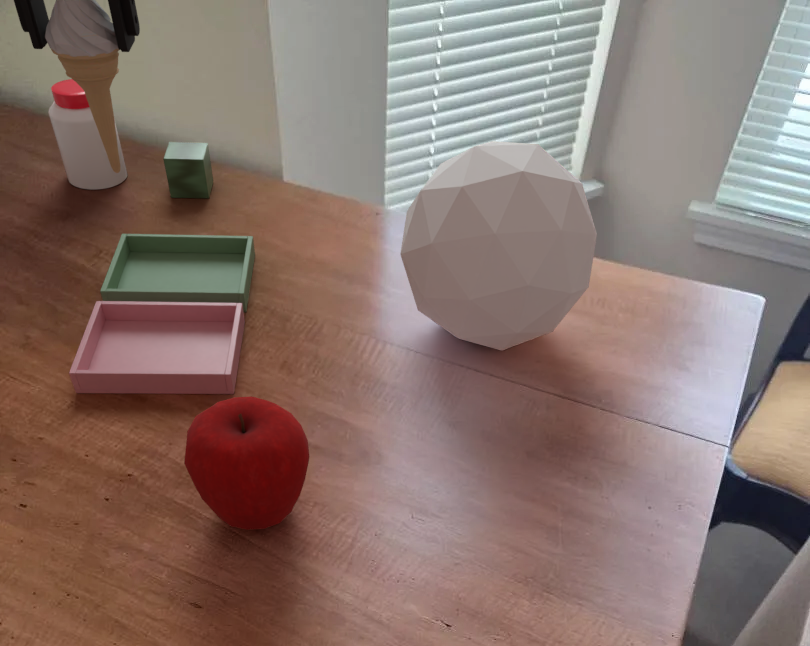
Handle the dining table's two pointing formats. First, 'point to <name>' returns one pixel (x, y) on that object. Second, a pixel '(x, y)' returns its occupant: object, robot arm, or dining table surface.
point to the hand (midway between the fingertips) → (85, 41)
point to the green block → (188, 170)
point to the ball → (499, 244)
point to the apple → (247, 461)
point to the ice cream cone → (88, 60)
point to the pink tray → (160, 348)
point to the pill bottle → (81, 140)
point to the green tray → (180, 269)
